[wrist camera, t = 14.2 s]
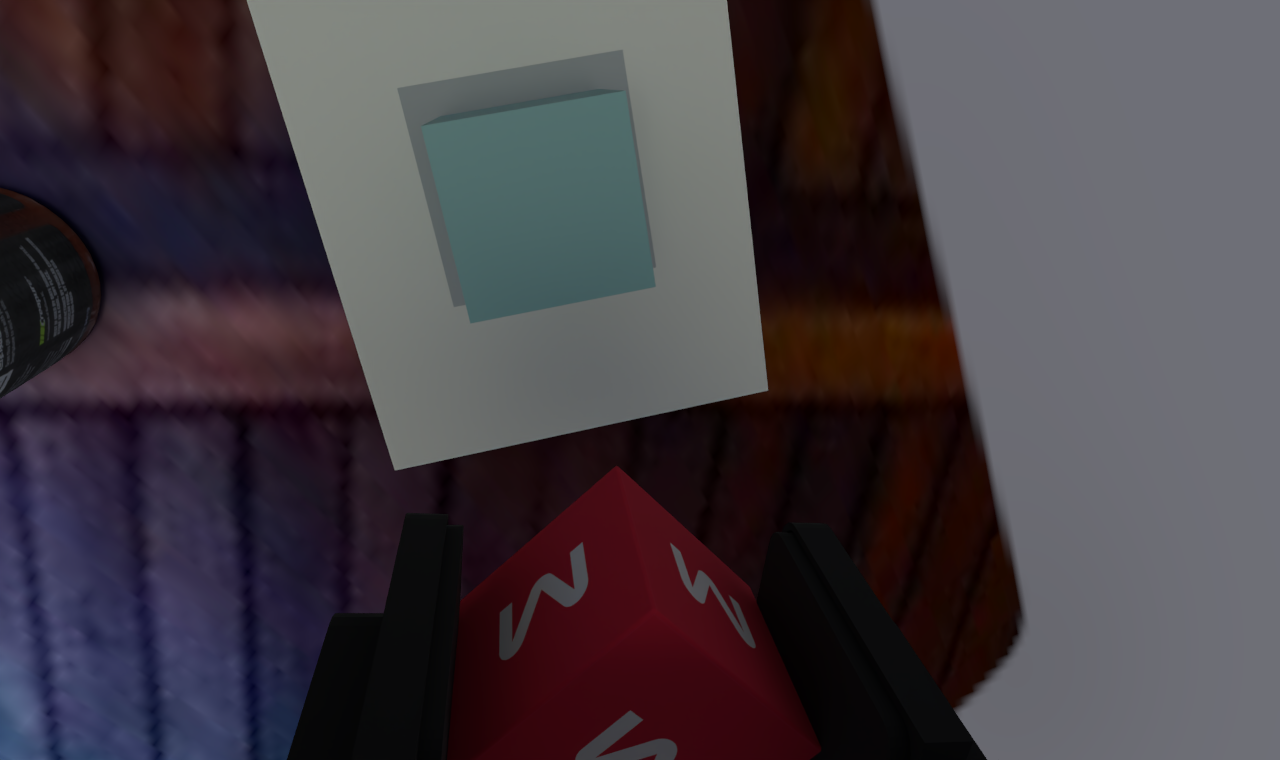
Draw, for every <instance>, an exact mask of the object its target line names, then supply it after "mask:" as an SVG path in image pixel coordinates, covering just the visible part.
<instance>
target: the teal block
mask: <svg viewBox="0 0 1280 760" xmlns="http://www.w3.org/2000/svg"><path fill="white" fill-rule="evenodd" d="M421 129H422V133H423V137H424V141H425V145H426V149H427V153H428V157H429V161H430V165H431V169H432V173H433V177H434V181H435V185H436V189H437V193H438V197H439V201H440V205H441V209H442V212H443V216H444V220H445V224H446V228H447V232H448V236H449V240H450V244H451V248H452V252H453V256H454V260H455V264H456V268H457V272H458V276H459V280H460V284H461V288H462V292H463V296H464V300H465V304H466V308H467V312H468V316H469V320H470V323H475V322H481V321H486V320H491V319H496V318H501V317H506V316H511V315H516V314H521V313H526V312H531V311H536V310H541V309H546V308H551V307H556V306H562V305H567V304H572V303H577V302H582V301H587V300H592V299H597V298H602V297H607V296H612V295H617V294H622V293H627V292H632V291H637V290H643V289H648V288H653V287H656V284H655V278H654V271H653V265H652V258H651V252H650V245H649V239H648V232H647V226H646V220H645V213H644V207H643V200H642V194H641V187H640V181H639V174H638V168H637V161H636V155H635V148H634V142H633V135H632V129H631V122H630V116H629V109H628V103H627V96H626V91H625V90H608V89H595V90H590V91H584V92H578V93H572V94H566V95H561V96H555V97H549V98H543V99H538V100H532V101H526V102H520V103H514V104H509V105H503V106H497V107H491V108H485V109H480V110H474V111H468V112H462V113H456V114H451V115H445V116H440V117H438V118H436V119H434V120H432V121H430V122H428V123H426V124H424V125H422V126H421Z"/></svg>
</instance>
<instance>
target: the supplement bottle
mask: <svg viewBox="0 0 1280 760" xmlns="http://www.w3.org/2000/svg"><path fill="white" fill-rule="evenodd" d="M100 301H101V291H100V281H99V276H98V272H97V269H96V267H95V264H94V262H93V259H92V257H91V254H90V253H89V251H88V249H87V248H86V246H85V245H84V243H83V242H82V241H81V239H80V238H79V237H78V235H77V234H76V233H75V232H74V231H73V230H72V229H71V228H70V227H69V226H68V225H67V224H66V223H65V222H64V221H63V220H62V219H60V218H59V217H58V216H57V215H55V214H54V213H53V212H51V211H50V210H49V209H47V208H46V207H44V206H43V205H41V204H39V203H37V202H35V201H34V200H33V199H31V198H29V197H27V196H24V195H22V194H19V193H16V192H13V191H10V190H7V189H3V188H0V398H2V397H3V396H5V395H6V394H8V393H9V392H11V391H13V390H14V389H16V388H18V387H19V386H21V385H22V384H24V383H25V382H27V381H28V380H30V379H32V378H33V377H35V376H36V375H38V374H39V373H41V372H42V371H44V370H46V369H47V368H49V367H50V366H52V365H53V364H55V363H56V362H58V361H59V360H61V359H62V358H63V357H65V356H66V355H67V354H69V353H71V352H72V351H73V350H74V349H75V348H76V347H78V346H79V345H80V344H81V343H82V341H83V340H84V339H85V338H86V337H87V335H88V334H89V333H90V332H91V330H92V328H93V326H94V325H95V323H96V320H97V315H98V311H99V307H100Z"/></svg>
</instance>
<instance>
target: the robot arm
mask: <svg viewBox="0 0 1280 760" xmlns="http://www.w3.org/2000/svg"><path fill="white" fill-rule="evenodd" d="M463 528H464V526H463V525H448V514H419V513H407V514H406V516H405V520H404V525H403V529H402V534H401V538H400V543H399V547H398V552H397V556H396V561H395V565H394V570H393V574H392V579H391V583H390V588H389V592H388V597H387V601H386V606H385V610H384V613H335V614H334V616H333V617H332V619H331V622H330V624H329V627H328V630H327V633H326V637H325V640H324V643H323V646H322V649H321V653H320V656H319V659H318V662H317V665H316V668H315V672H314V675H313V678H312V681H311V684H310V688H309V691H308V694H307V697H306V700H305V704H304V707H303V710H302V713H301V716H300V720H299V723H298V726H297V729H296V732H295V736H294V739H293V742H292V745H291V748H290V752H289V755H288V758H287V760H447V751H448V740H449V728H450V717H451V705H452V694H453V683H454V671H455V660H456V648H457V637H458V626H459V611H460V591H461V570H462V550H463ZM757 605H758V607H759V609H760V611H761V614H762V616H763V618H764V620H765V623H766V625H767V627H768V629H769V631H770V634H771V636H772V638H773V640H774V643H775V645H776V647H777V649H778V652H779V654H780V656H781V658H782V660H783V663H784V665H785V667H786V669H787V672H788V674H789V676H790V678H791V681H792V683H793V685H794V687H795V690H796V692H797V694H798V696H799V698H800V701H801V703H802V705H803V707H804V710H805V712H806V714H807V716H808V719H809V721H810V723H811V725H812V727H813V730H814V732H815V734H816V736H817V739H818V741H819V743H820V745H821V752H819V753H818V754H817V755H815V756H814V757H813V758H811V759H810V760H987V759H986V757H985V756H984V754H983V753H982V751H981V750H980V749H979V747H978V745H977V744H976V743H975V741H974V740H973V738H972V737H971V735H970V734H969V732H968V731H967V729H966V728H965V726H964V725H963V723H962V722H961V720H960V719H959V717H958V716H957V714H956V713H955V711H954V710H953V708H952V707H951V705H950V704H949V702H948V701H947V699H946V698H945V696H944V695H943V693H942V692H941V690H940V689H939V687H938V686H937V684H936V683H935V682H934V680H933V679H932V677H931V676H930V674H929V673H928V671H927V670H926V668H925V667H924V665H923V664H922V662H921V661H920V659H919V658H918V656H917V655H916V653H915V652H914V650H913V649H912V647H911V646H910V644H909V643H908V641H907V640H906V638H905V637H904V635H903V634H902V632H901V631H900V629H899V628H898V626H897V625H896V624H895V623H894V622H893V621H892V619H891V618H890V616H889V615H888V613H887V612H886V610H885V609H884V607H883V606H882V604H881V603H880V601H879V600H878V598H877V597H876V595H875V594H874V592H873V591H872V590H871V588H870V587H869V585H868V584H867V582H866V581H865V579H864V578H863V576H862V575H861V573H860V572H859V570H858V569H857V567H856V566H855V564H854V563H853V561H852V560H851V558H850V557H849V555H848V554H847V552H846V551H845V549H844V548H843V546H842V545H841V543H840V542H839V540H838V539H837V537H836V536H835V534H834V533H833V531H832V530H831V528H830V527H829V526H828V525H827V524H821V523H788V524H786V525H785V527H784V528H783V530H782V532H775V533H774V534H773V535H772V537H771V539H770V543H769V547H768V552H767V556H766V561H765V565H764V570H763V575H762V579H761V584H760V588H759V593H758V597H757Z"/></svg>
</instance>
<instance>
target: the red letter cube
mask: <svg viewBox="0 0 1280 760" xmlns="http://www.w3.org/2000/svg"><path fill="white" fill-rule="evenodd" d="M819 752H821V745H820V743H819V741H818V739H817V736H816V734H815V732H814V730H813V727H812V725H811V723H810V721H809V719H808V716H807V714H806V712H805V710H804V707H803V705H802V703H801V701H800V698H799V696H798V694H797V692H796V690H795V687H794V685H793V683H792V681H791V678H790V676H789V674H788V672H787V669H786V667H785V665H784V663H783V660H782V658H781V656H780V654H779V652H778V649H777V647H776V645H775V643H774V640H773V638H772V636H771V634H770V631H769V629H768V627H767V625H766V623H765V620H764V618H763V616H762V614H761V611H760V609H759V607H758V605H757V602H756V600H755V597H754V595H753V593H752V591H751V588H750V587H749V586H748V585H747V584H746V583H745V582H744V581H743V580H742V579H741V578H739V577H738V576H737V575H736V574H735V573H734V572H733V571H732V570H731V569H730V568H729V567H727V566H726V565H725V564H724V563H723V562H722V561H721V560H720V559H719V558H718V557H716V556H715V555H714V554H713V553H712V552H711V551H710V550H709V549H708V548H707V547H706V546H704V545H703V544H702V543H701V542H700V541H699V540H698V539H697V538H696V537H695V536H694V535H692V534H691V533H690V532H689V531H688V530H687V529H686V528H685V527H684V526H683V525H682V524H680V523H679V522H678V521H677V520H676V519H675V518H674V517H673V516H672V515H671V514H669V513H668V512H667V511H666V510H665V509H664V508H663V507H662V506H661V505H660V504H659V503H657V502H656V501H655V500H654V499H653V498H652V497H651V496H650V495H649V494H648V493H647V492H645V491H644V490H643V489H642V488H641V487H640V486H639V485H638V484H637V483H636V482H635V481H633V480H632V479H631V478H630V477H629V476H628V475H627V474H626V473H625V472H624V471H622V470H621V469H620V468H619V467H617V466H616V467H614V468H613V469H612V470H611V471H610V472H608V473H607V474H606V475H605V476H604V477H603V478H602V479H600V480H599V481H598V482H597V483H596V484H595V485H594V486H592V487H591V488H590V489H589V490H588V491H587V492H585V493H584V494H583V495H582V496H581V497H580V498H579V499H577V500H576V501H575V502H574V503H573V504H572V505H570V506H569V507H568V508H567V509H566V510H565V511H564V512H562V513H561V514H560V515H559V516H558V517H557V518H555V519H554V520H553V521H552V522H551V523H550V524H549V525H547V526H546V527H545V528H544V529H543V530H542V531H541V532H539V533H538V534H537V535H536V536H535V537H534V538H532V539H531V540H530V541H529V542H528V543H527V544H526V545H524V546H523V547H522V548H521V549H520V550H519V551H517V552H516V553H515V554H514V555H513V556H512V557H511V558H509V559H508V560H507V561H506V562H505V563H504V564H502V565H501V566H500V567H499V568H498V569H497V570H496V571H494V572H493V573H492V574H491V575H490V576H489V577H487V578H486V579H485V580H484V581H483V582H482V583H481V584H479V585H478V586H477V587H476V588H475V589H474V590H473V591H471V592H470V593H469V594H468V595H467V596H466V597H464V598H463V599H462V600H461V601H460V611H459V626H458V637H457V648H456V660H455V671H454V683H453V694H452V705H451V717H450V728H449V740H448V751H447V760H810V759H811V758H813V757H814V756H815V755H817V754H818V753H819Z"/></svg>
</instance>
